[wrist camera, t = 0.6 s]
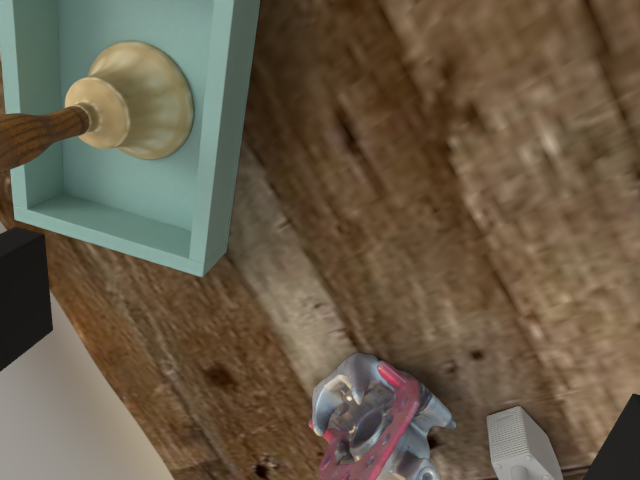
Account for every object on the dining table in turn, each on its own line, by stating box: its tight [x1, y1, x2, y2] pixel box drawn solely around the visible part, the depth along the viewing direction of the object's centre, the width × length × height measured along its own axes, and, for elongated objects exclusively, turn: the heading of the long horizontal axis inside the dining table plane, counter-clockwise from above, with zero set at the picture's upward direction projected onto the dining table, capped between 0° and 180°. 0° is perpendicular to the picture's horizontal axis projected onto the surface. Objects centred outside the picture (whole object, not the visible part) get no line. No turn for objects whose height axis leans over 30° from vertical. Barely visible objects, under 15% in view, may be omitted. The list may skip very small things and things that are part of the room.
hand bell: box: [0, 40, 194, 172], centre depth 28 cm, size 8×8×16 cm
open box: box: [0, 0, 260, 277], centre depth 34 cm, size 20×15×4 cm
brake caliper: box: [308, 353, 456, 480], centre depth 38 cm, size 11×11×12 cm
